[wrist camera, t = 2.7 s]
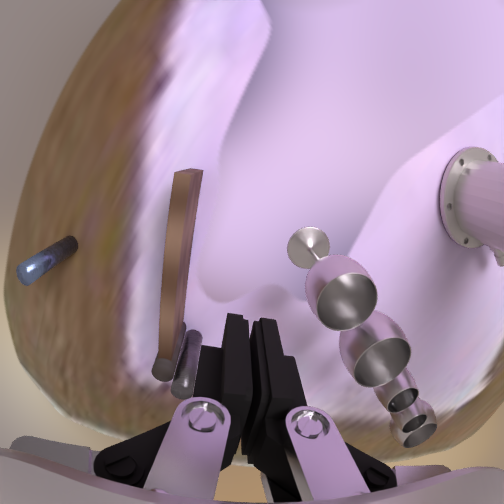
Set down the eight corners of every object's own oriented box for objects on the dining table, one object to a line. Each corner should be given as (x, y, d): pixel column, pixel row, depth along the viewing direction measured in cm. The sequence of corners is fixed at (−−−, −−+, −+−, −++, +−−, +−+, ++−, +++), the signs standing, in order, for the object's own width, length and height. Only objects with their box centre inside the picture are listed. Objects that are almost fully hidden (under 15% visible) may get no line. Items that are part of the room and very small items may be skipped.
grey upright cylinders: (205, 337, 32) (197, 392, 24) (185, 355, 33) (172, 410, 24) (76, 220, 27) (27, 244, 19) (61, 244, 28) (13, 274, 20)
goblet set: (272, 245, 29) (296, 313, 17) (320, 212, 28) (379, 257, 16) (374, 395, 37) (407, 462, 24) (406, 373, 36) (447, 436, 24)
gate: (185, 335, 32) (173, 383, 24) (168, 332, 31) (151, 379, 24) (207, 170, 26) (194, 176, 19) (186, 167, 26) (165, 172, 19)
